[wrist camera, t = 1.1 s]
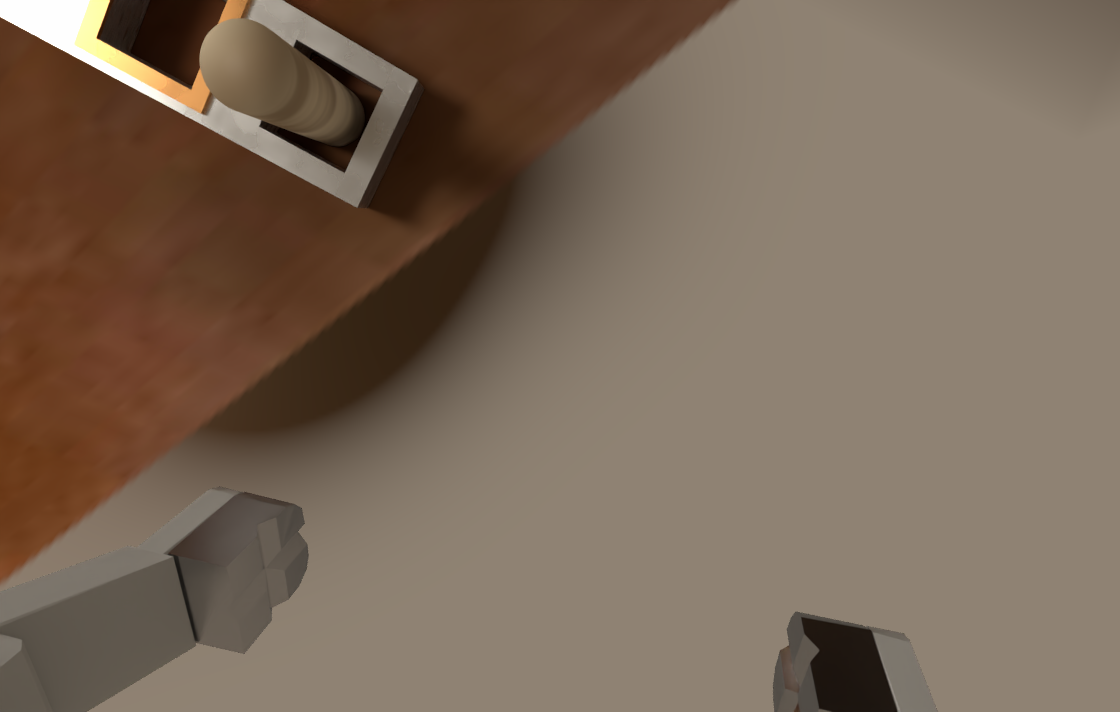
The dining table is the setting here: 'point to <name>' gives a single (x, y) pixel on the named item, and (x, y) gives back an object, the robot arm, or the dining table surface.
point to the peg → (277, 83)
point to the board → (106, 41)
